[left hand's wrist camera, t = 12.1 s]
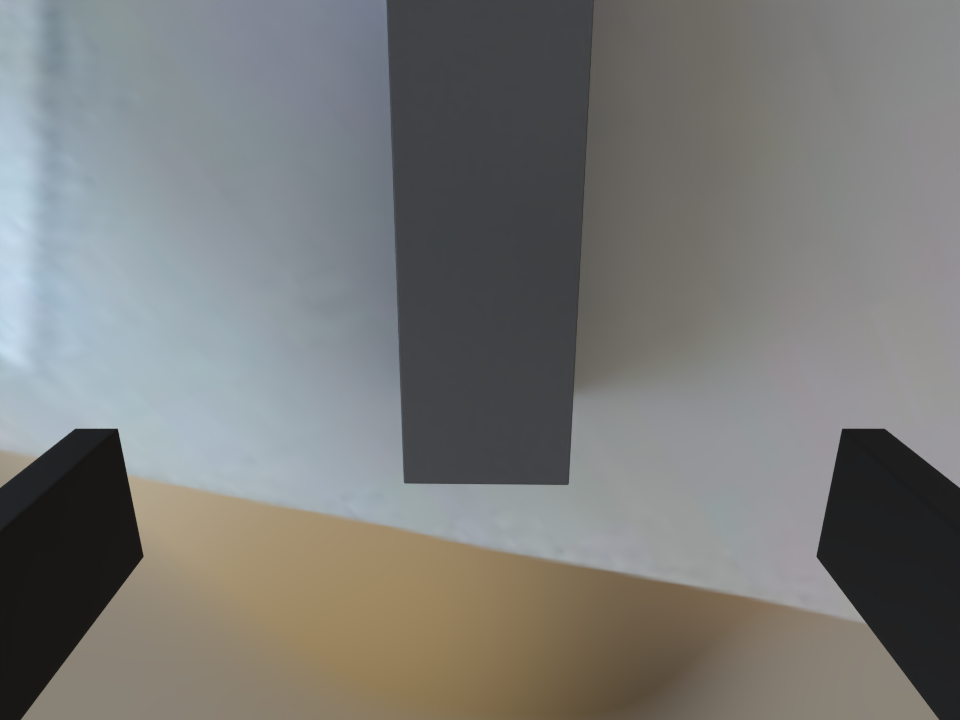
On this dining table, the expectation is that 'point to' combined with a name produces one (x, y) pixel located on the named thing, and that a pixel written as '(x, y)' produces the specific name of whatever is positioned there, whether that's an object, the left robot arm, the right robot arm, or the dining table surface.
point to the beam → (488, 232)
